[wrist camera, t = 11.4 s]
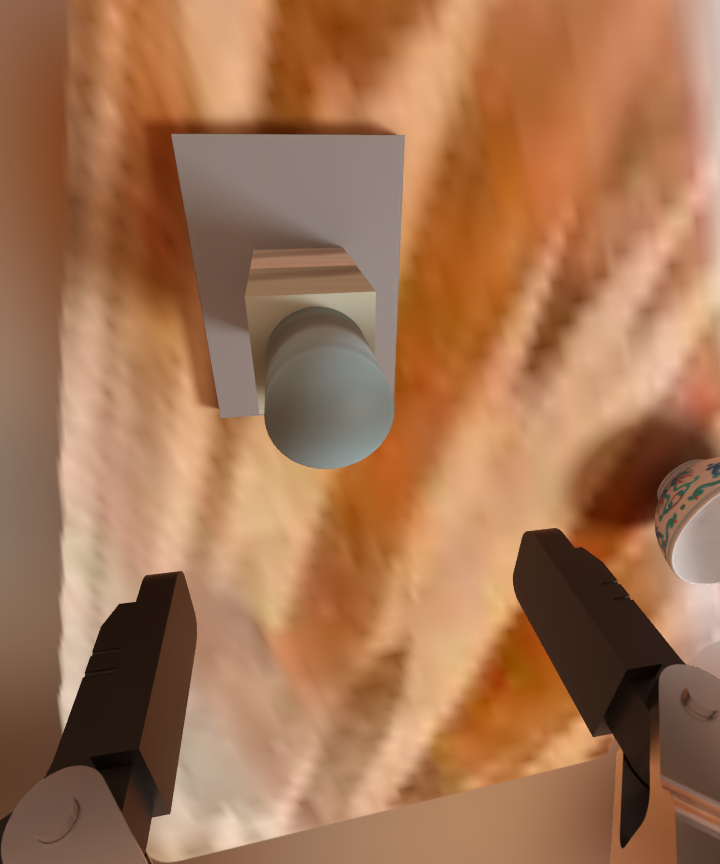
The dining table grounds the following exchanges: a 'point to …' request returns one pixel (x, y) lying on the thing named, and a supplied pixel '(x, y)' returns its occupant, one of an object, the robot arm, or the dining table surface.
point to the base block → (300, 258)
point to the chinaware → (691, 521)
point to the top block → (303, 304)
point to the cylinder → (324, 390)
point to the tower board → (286, 229)
